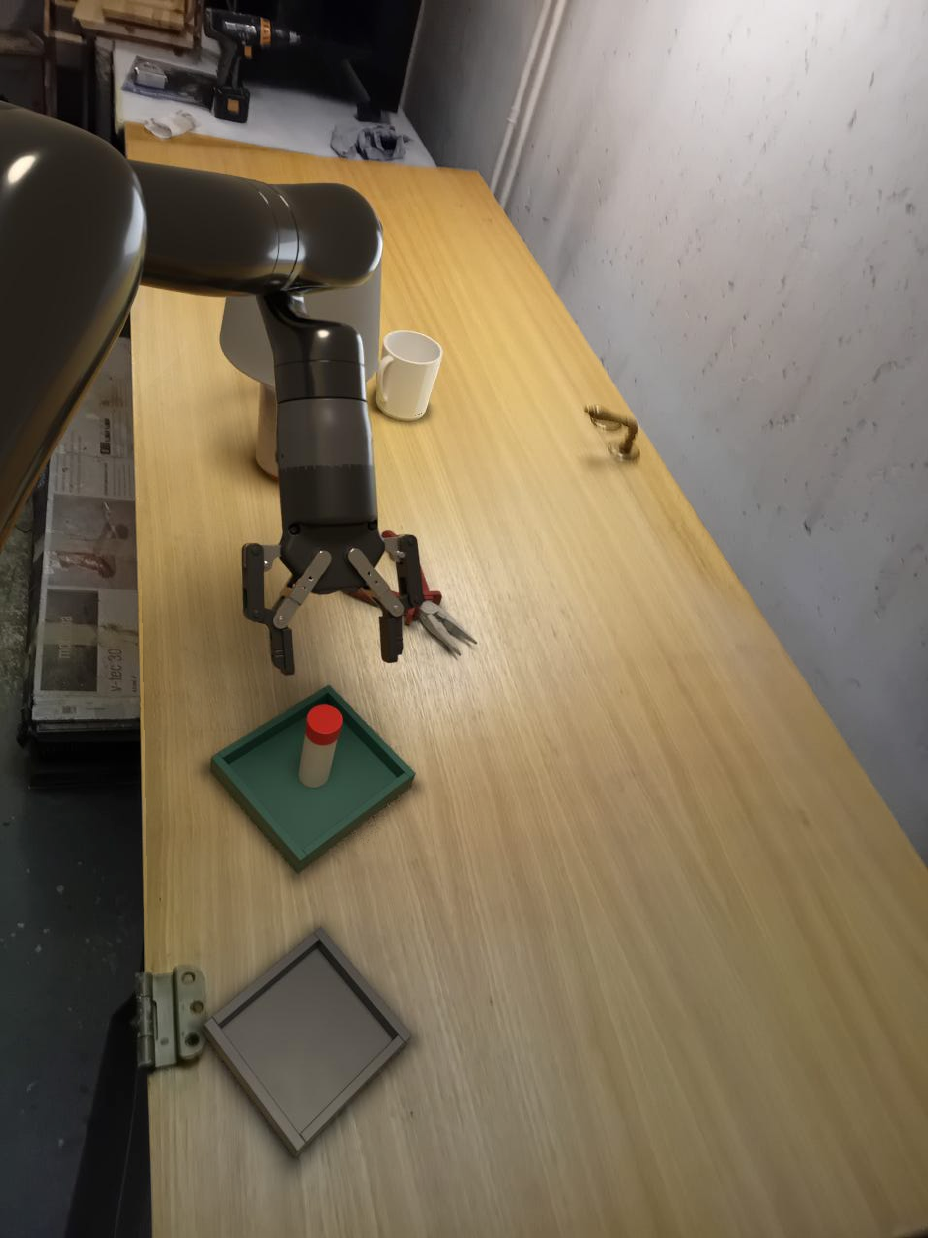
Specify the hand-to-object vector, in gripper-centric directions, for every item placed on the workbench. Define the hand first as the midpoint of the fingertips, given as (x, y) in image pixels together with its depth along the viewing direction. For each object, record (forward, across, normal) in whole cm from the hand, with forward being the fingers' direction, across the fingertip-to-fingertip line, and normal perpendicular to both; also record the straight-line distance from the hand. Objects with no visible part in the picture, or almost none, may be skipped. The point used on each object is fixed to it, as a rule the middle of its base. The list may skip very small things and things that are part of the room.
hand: (340, 667), depth 66 cm
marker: (+13, +1, +15) cm, 20 cm away
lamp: (-20, +9, +50) cm, 55 cm away
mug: (-29, +29, +59) cm, 71 cm away
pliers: (-1, +16, +31) cm, 35 cm away
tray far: (+14, +1, +15) cm, 21 cm away
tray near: (+30, -5, -1) cm, 30 cm away
